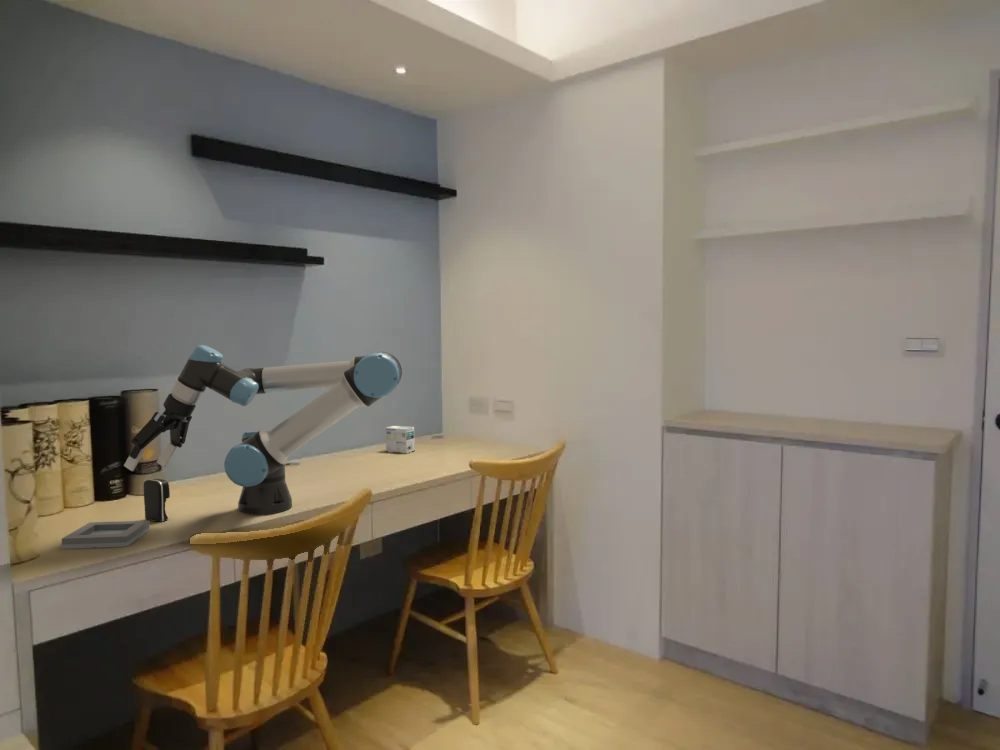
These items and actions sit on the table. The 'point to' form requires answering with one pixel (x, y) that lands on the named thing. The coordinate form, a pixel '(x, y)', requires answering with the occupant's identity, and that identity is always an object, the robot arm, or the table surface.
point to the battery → (156, 499)
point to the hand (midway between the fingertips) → (145, 466)
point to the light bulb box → (400, 439)
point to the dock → (106, 534)
